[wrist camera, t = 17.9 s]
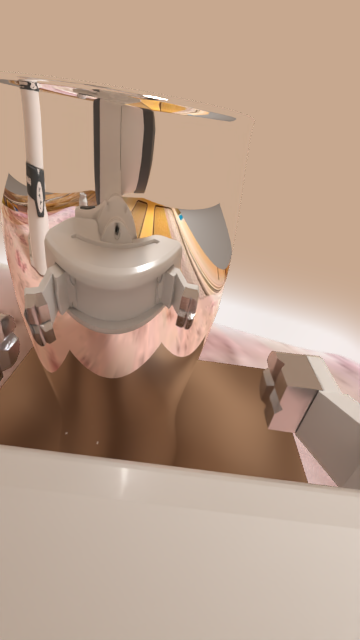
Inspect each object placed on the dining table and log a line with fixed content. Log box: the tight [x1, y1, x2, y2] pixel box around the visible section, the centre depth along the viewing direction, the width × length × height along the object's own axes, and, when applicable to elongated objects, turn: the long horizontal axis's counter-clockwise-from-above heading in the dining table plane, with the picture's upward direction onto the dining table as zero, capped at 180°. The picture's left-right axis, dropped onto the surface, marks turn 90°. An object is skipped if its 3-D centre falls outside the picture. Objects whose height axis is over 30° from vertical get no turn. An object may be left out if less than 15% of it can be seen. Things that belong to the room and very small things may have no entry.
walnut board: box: [0, 346, 308, 483], centre depth 16 cm, size 18×16×2 cm
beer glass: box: [0, 71, 255, 466], centre depth 12 cm, size 7×7×15 cm
